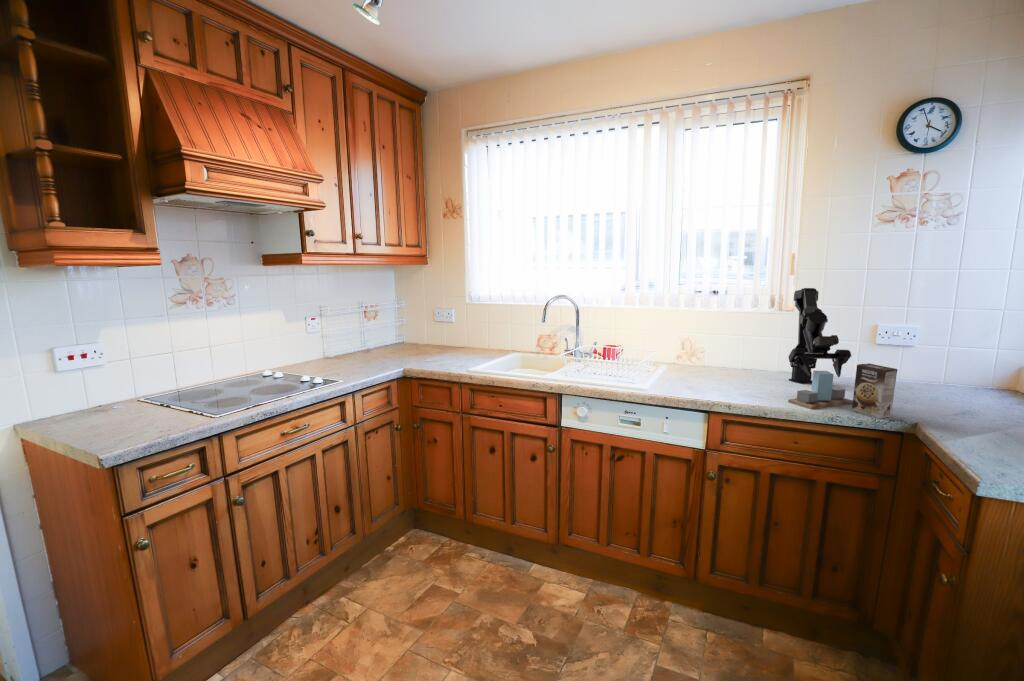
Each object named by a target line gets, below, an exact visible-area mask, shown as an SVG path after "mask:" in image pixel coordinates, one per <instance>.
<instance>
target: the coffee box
mask: <svg viewBox="0 0 1024 681" xmlns="http://www.w3.org/2000/svg"><path fill="white" fill-rule="evenodd" d="M897 376H898V369H897V368H893V367H889V366H884V365H879V364H874V363H860V364H859V363H858V364H857V365H856V371H855V380H854V388H853V397H852V400H853V403H851V404H852V405H851V411H852V412H854V411H855V413H859V414H861V415H865V416H869V417H871V418H876V419H884V418H889V417H890V418H891V417H892V410H893V403H894V396H895V395H894V394H895V388H896V383H897Z"/></svg>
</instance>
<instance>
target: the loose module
mask: <svg viewBox="0 0 1024 681" xmlns="http://www.w3.org/2000/svg"><path fill="white" fill-rule="evenodd" d="M811 381H812V382H811V389H810V391H812V392H816V393H817V400H830V401H831V394H832V386H833V384H834V383H833V382H834V373H832V372H830V371H828V370H813V372H812V379H811Z"/></svg>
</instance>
